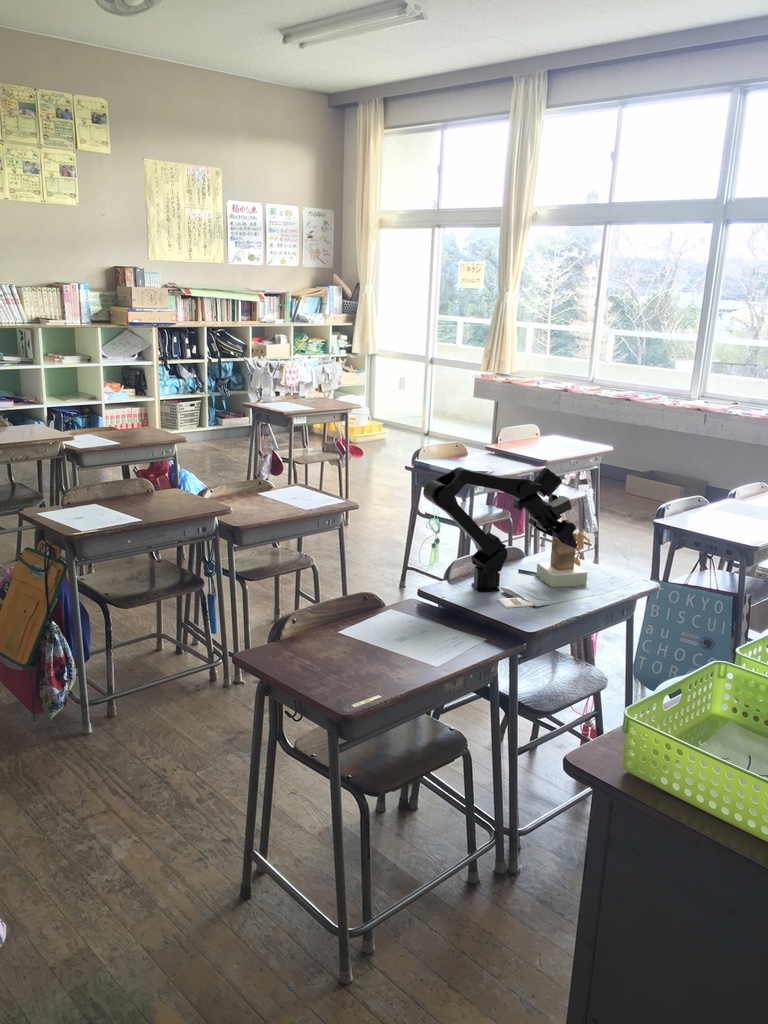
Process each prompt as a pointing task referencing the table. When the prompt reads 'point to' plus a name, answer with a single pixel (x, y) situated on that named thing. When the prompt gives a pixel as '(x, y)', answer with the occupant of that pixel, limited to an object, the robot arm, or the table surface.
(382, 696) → the table surface
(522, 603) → the card
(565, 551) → the walnut block
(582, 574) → the base block
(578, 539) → the figurine
